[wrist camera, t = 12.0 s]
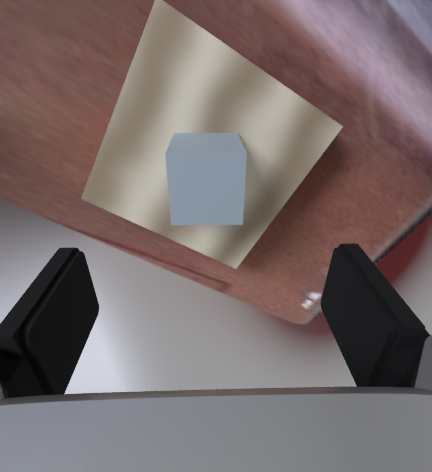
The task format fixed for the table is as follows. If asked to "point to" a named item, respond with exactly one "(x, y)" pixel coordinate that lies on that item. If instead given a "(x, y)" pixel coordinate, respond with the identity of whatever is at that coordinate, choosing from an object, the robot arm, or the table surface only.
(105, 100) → the table surface
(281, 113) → the base plate
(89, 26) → the table surface
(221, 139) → the grey block
